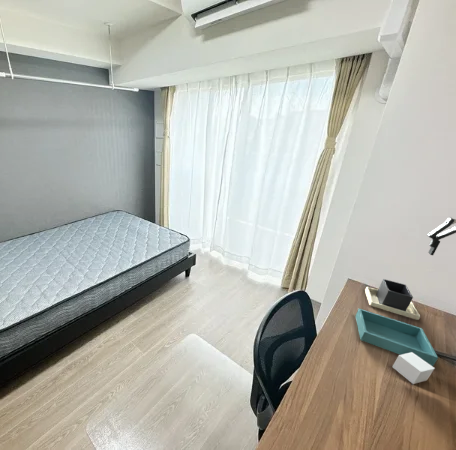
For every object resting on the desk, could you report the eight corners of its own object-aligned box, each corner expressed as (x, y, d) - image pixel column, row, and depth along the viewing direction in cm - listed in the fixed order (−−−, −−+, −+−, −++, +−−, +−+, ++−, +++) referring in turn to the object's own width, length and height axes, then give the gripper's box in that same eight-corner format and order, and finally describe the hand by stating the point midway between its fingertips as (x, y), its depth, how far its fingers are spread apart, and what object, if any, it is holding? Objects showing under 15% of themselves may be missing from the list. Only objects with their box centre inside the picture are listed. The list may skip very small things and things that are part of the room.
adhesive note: (426, 381, 78) (434, 368, 75) (412, 385, 76) (421, 372, 74) (404, 364, 83) (412, 351, 81) (391, 368, 82) (398, 355, 79)
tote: (417, 337, 95) (422, 328, 93) (432, 367, 82) (438, 357, 81) (354, 316, 104) (358, 308, 102) (359, 341, 92) (364, 331, 90)
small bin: (397, 300, 115) (405, 284, 112) (404, 314, 106) (413, 297, 103) (376, 294, 119) (383, 278, 116) (380, 306, 110) (388, 290, 107)
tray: (408, 302, 114) (410, 298, 114) (417, 321, 103) (420, 316, 102) (364, 290, 122) (366, 286, 121) (369, 306, 111) (371, 301, 110)
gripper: (439, 205, 95) (415, 253, 103) (541, 219, 83) (505, 272, 91) (431, 201, 101) (410, 247, 109) (526, 214, 89) (494, 264, 97)
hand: (453, 258), depth 100 cm, fingers open, 13 cm apart
